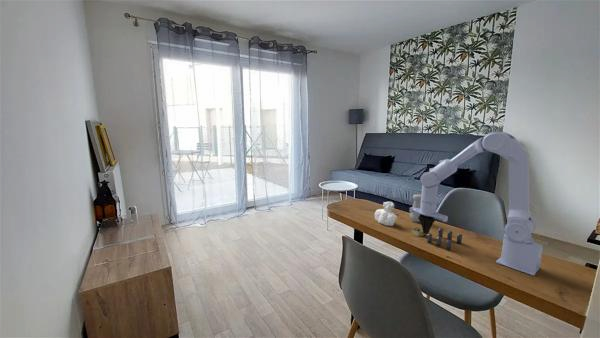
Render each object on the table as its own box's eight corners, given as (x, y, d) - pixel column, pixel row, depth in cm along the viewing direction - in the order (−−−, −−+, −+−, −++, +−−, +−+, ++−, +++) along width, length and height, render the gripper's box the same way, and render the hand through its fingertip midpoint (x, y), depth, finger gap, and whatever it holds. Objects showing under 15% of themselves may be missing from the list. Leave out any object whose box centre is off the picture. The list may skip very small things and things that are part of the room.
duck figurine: (396, 231, 113) (407, 210, 115) (388, 224, 109) (399, 202, 112) (376, 223, 123) (386, 203, 126) (367, 216, 120) (378, 196, 122)
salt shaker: (424, 223, 117) (426, 196, 115) (411, 222, 118) (413, 196, 116) (420, 219, 123) (423, 193, 121) (408, 218, 124) (410, 192, 122)
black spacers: (462, 243, 97) (463, 234, 96) (449, 251, 91) (450, 241, 90) (439, 235, 104) (439, 227, 103) (426, 242, 98) (427, 233, 97)
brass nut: (426, 234, 105) (426, 230, 105) (421, 237, 102) (421, 232, 102) (414, 230, 109) (414, 226, 109) (409, 233, 106) (409, 228, 106)
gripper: (452, 203, 97) (449, 236, 99) (416, 195, 109) (414, 225, 111) (444, 207, 93) (440, 241, 95) (407, 198, 105) (405, 229, 107)
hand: (426, 233), depth 103 cm, fingers closed
